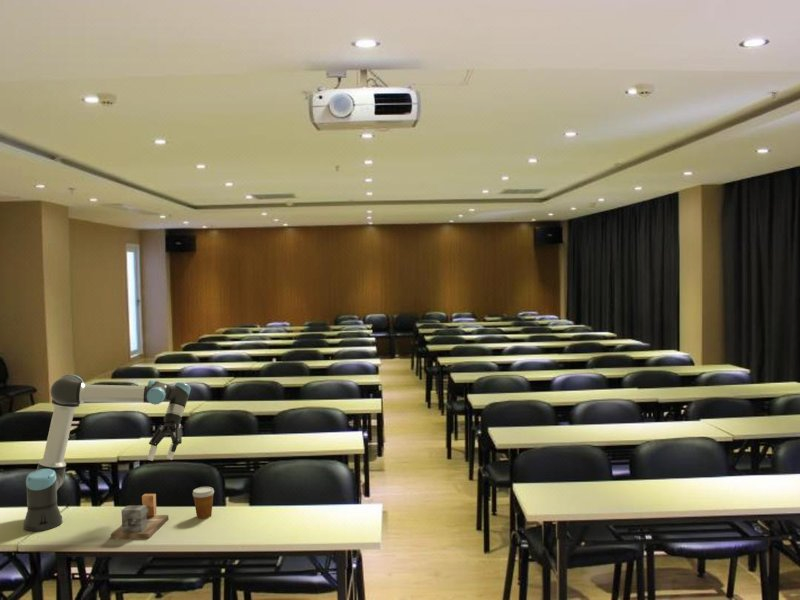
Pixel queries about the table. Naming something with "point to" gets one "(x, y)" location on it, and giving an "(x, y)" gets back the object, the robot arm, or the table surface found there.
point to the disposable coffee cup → (203, 501)
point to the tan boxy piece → (149, 504)
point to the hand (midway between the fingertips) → (159, 459)
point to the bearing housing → (138, 523)
